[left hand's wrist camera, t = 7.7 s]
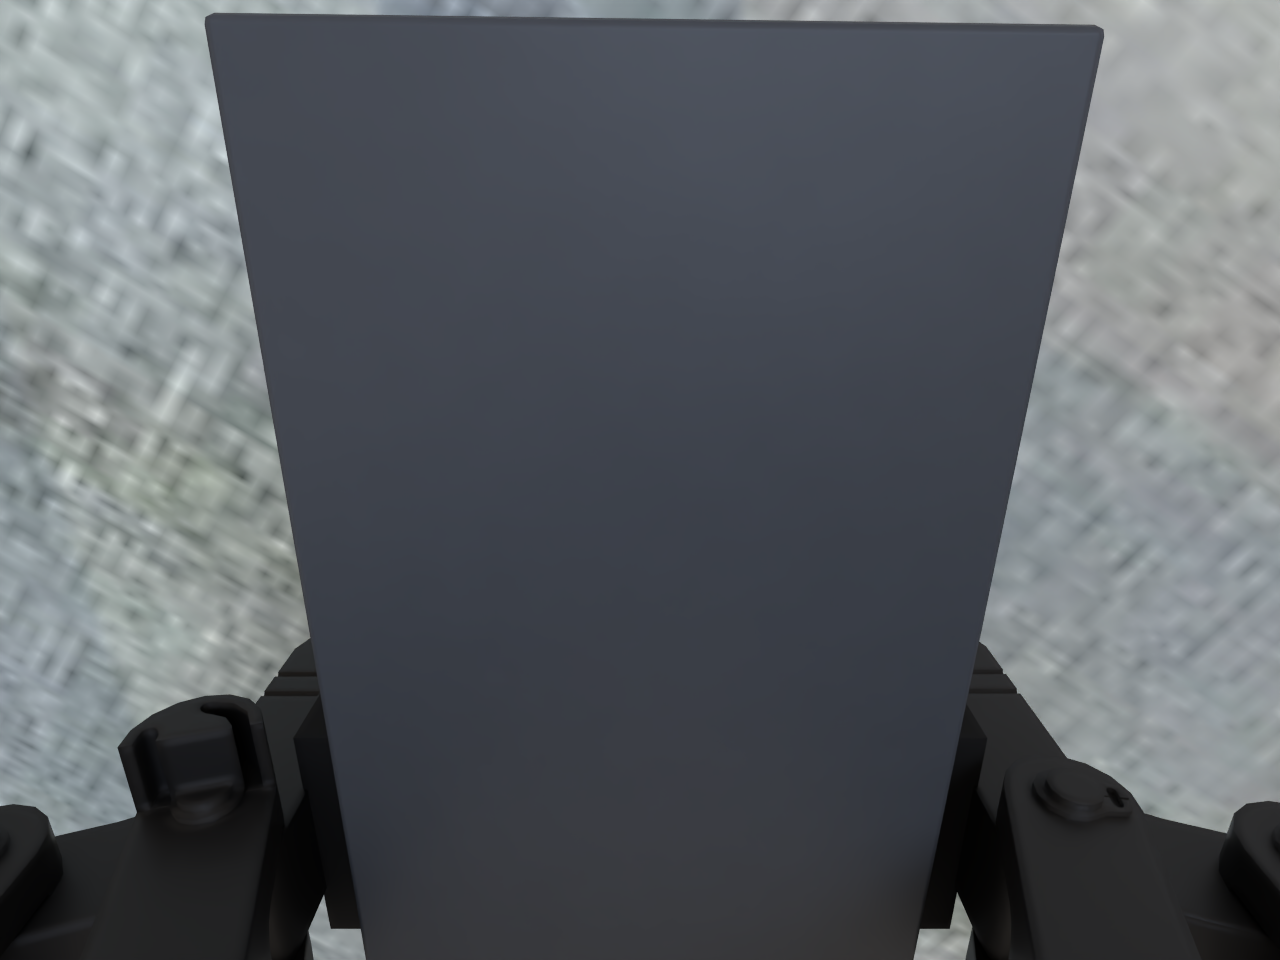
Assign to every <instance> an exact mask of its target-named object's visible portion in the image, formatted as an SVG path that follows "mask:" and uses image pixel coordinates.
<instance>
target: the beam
mask: <svg viewBox="0 0 1280 960" xmlns="http://www.w3.org/2000/svg"><path fill="white" fill-rule="evenodd" d="M205 29H206V35H207V41H208V46H209V52H210V58H211V64H212V69H213V75H214V81H215V87H216V93H217V98H218V104H219V110H220V116H221V122H222V127H223V133H224V139H225V145H226V151H227V156H228V162H229V168H230V174H231V180H232V185H233V191H234V197H235V203H236V208H237V214H238V220H239V226H240V232H241V237H242V243H243V249H244V255H245V261H246V266H247V272H248V278H249V284H250V290H251V295H252V301H253V307H254V313H255V319H256V324H257V330H258V336H259V342H260V347H261V353H262V359H263V365H264V371H265V376H266V382H267V388H268V394H269V400H270V405H271V411H272V417H273V423H274V429H275V434H276V440H277V446H278V452H279V458H280V463H281V469H282V475H283V481H284V486H285V492H286V498H287V504H288V510H289V515H290V521H291V527H292V533H293V539H294V544H295V550H296V556H297V562H298V568H299V573H300V579H301V585H302V591H303V597H304V602H305V608H306V614H307V620H308V625H309V631H310V637H311V643H312V649H313V654H314V660H315V666H316V672H317V678H318V683H319V689H320V695H321V701H322V707H323V712H324V718H325V724H326V730H327V736H328V741H329V747H330V753H331V759H332V764H333V770H334V776H335V782H336V788H337V793H338V799H339V805H340V811H341V817H342V822H343V828H344V834H345V840H346V846H347V851H348V857H349V863H350V869H351V875H352V880H353V886H354V892H355V898H356V903H357V909H358V915H359V921H360V927H361V932H362V938H363V944H364V950H365V956H366V960H913V959H914V954H915V949H916V944H917V939H918V934H919V930H920V925H921V920H922V915H923V910H924V905H925V901H926V896H927V891H928V886H929V881H930V876H931V872H932V867H933V862H934V857H935V852H936V847H937V843H938V838H939V833H940V828H941V823H942V818H943V813H944V809H945V804H946V799H947V794H948V789H949V784H950V780H951V775H952V770H953V765H954V760H955V755H956V751H957V746H958V741H959V736H960V731H961V726H962V722H963V717H964V712H965V707H966V702H967V697H968V693H969V688H970V683H971V678H972V673H973V668H974V663H975V659H976V654H977V649H978V644H979V639H980V634H981V630H982V625H983V620H984V615H985V610H986V605H987V601H988V596H989V591H990V586H991V581H992V576H993V572H994V567H995V562H996V557H997V552H998V547H999V542H1000V538H1001V533H1002V528H1003V523H1004V518H1005V513H1006V509H1007V504H1008V499H1009V494H1010V489H1011V484H1012V480H1013V475H1014V470H1015V465H1016V460H1017V455H1018V451H1019V446H1020V441H1021V436H1022V431H1023V426H1024V421H1025V417H1026V412H1027V407H1028V402H1029V397H1030V392H1031V388H1032V383H1033V378H1034V373H1035V368H1036V363H1037V359H1038V354H1039V349H1040V344H1041V339H1042V334H1043V330H1044V325H1045V320H1046V315H1047V310H1048V305H1049V300H1050V296H1051V291H1052V286H1053V281H1054V276H1055V271H1056V267H1057V262H1058V257H1059V252H1060V247H1061V242H1062V238H1063V233H1064V228H1065V223H1066V218H1067V213H1068V209H1069V204H1070V199H1071V194H1072V189H1073V184H1074V179H1075V175H1076V170H1077V165H1078V160H1079V155H1080V150H1081V146H1082V141H1083V136H1084V131H1085V126H1086V121H1087V117H1088V112H1089V107H1090V102H1091V97H1092V92H1093V88H1094V83H1095V78H1096V73H1097V68H1098V63H1099V59H1100V54H1101V49H1102V44H1103V39H1104V31H1103V29H1102V28H1100V27H1098V26H1096V25H1067V24H993V23H920V22H847V21H774V20H700V19H627V18H554V17H481V16H407V15H334V14H261V13H213V14H211V15H209V16H207V17H206V18H205Z"/></svg>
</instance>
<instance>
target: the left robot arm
mask: <svg viewBox="0 0 1280 960" xmlns="http://www.w3.org/2000/svg"><path fill="white" fill-rule="evenodd" d="M118 751H119V754H120V757H121V761H122V764H123V767H124V771H125V774H126V777H127V781H128V784H129V787H130V791H131V794H132V797H133V801H134V804H135V807H136V811H137V814H136V816H135V817H133V818H130V819H127V820H123V821H120V822H116V823H112V824H108V825H103V826H99V827H94V828H90V829H86V830H81V831H77V832H73V833H68V834H64V835H59V836H54V833H53V830H52V828H51V825H50V822H49V819H48V817H47V816H46V815H45V814H44V813H42V812H41V811H40V810H38V809H37V808H36V807H31V806H24V805H16V804H12V805H5V806H0V960H313V953H312V946H311V941H310V936H309V931H308V930H309V927H310V925H311V923H312V920H313V918H314V916H315V914H316V911H317V909H318V907H319V904H320V902H321V900H322V897H323V895H324V897H325V902H326V907H327V912H328V917H329V922H330V927H331V929H361V927H360V921H359V915H358V909H357V903H356V898H355V892H354V886H353V880H352V875H351V869H350V863H349V857H348V851H347V846H346V840H345V834H344V828H343V822H342V817H341V811H340V805H339V799H338V793H337V788H336V782H335V776H334V770H333V764H332V759H331V753H330V747H329V741H328V736H327V730H326V724H325V718H324V712H323V707H322V701H321V695H320V689H319V683H318V678H317V672H316V666H315V660H314V654H313V649H312V643H311V638H310V639H309V640H307V641H306V642H304V643H303V644H301V645H300V646H299V647H297V648H296V649H295V650H294V651H293V652H292V654H291V655H290V657H289V658H288V659H287V661H286V662H285V664H284V665H283V666H282V668H281V669H280V670H279V672H278V677H274V679H273V680H272V682H271V683H270V684H269V686H268V687H267V689H266V690H265V694H264V696H261V697H260V698H259V700H258V701H257V702H256V704H255V703H254V702H253V701H251V700H250V699H247V698H243V697H239V696H234V695H213V696H203V697H199V698H195V699H191V700H188V701H184V702H180V703H177V704H175V705H173V706H170V707H168V708H166V709H164V710H162V711H159V712H157V713H155V714H153V715H151V716H150V717H149V718H147V719H146V720H144V721H143V722H142V723H140V724H139V725H137V726H136V727H135V728H133V729H132V730H131V731H130V732H129V733H128V735H127V736H126V737H125V739H124V740H123V741H122V742H121V744H120V745H119V746H118ZM957 892H958V895H959V897H960V899H961V902H962V904H963V906H964V908H965V911H966V913H967V915H968V917H969V920H970V922H971V924H972V931H971V936H970V941H969V945H968V950H967V955H966V959H965V960H1280V803H1278V802H1271V801H1265V802H1257V803H1249V804H1246V805H1244V806H1243V807H1242V808H1241V809H1239V810H1238V811H1237V812H1236V813H1234V816H1233V818H1232V821H1231V824H1230V827H1229V830H1228V833H1222V832H1218V831H1214V830H1209V829H1205V828H1200V827H1196V826H1192V825H1187V824H1183V823H1178V822H1174V821H1170V820H1165V819H1162V818H1158V817H1155V816H1152V815H1148V814H1145V813H1144V812H1143V811H1142V809H1141V808H1140V806H1139V805H1138V803H1137V802H1136V800H1135V799H1134V797H1133V796H1132V794H1131V793H1130V792H1129V791H1128V790H1126V789H1125V788H1124V787H1123V786H1122V785H1120V784H1119V783H1118V782H1117V781H1116V780H1114V779H1113V778H1112V777H1111V776H1109V775H1107V774H1105V773H1103V772H1101V771H1099V770H1097V769H1095V768H1093V767H1091V766H1089V765H1087V764H1085V763H1082V762H1078V761H1075V760H1071V759H1068V758H1067V757H1066V756H1065V755H1064V753H1063V752H1062V751H1061V749H1060V748H1059V746H1058V745H1057V744H1056V742H1055V741H1054V740H1053V738H1052V737H1051V735H1050V734H1049V733H1048V731H1047V730H1046V729H1045V727H1044V726H1043V724H1042V723H1041V722H1040V720H1039V719H1038V718H1037V716H1036V715H1035V713H1034V712H1033V711H1032V709H1031V708H1030V706H1029V705H1028V704H1027V702H1026V701H1025V700H1024V698H1023V697H1022V695H1021V694H1017V689H1016V687H1015V686H1014V684H1013V683H1012V682H1011V680H1010V679H1009V678H1008V676H1007V675H1006V674H1003V669H1002V668H1001V667H1000V665H999V664H998V662H997V661H996V660H995V658H994V657H993V656H992V654H991V653H990V651H989V650H988V649H987V647H986V646H984V645H983V644H982V643H980V642H979V644H978V649H977V654H976V659H975V663H974V668H973V673H972V678H971V683H970V688H969V693H968V697H967V702H966V707H965V712H964V717H963V722H962V726H961V731H960V736H959V741H958V746H957V751H956V755H955V760H954V765H953V770H952V775H951V780H950V784H949V789H948V794H947V799H946V804H945V809H944V813H943V818H942V823H941V828H940V833H939V838H938V843H937V847H936V852H935V857H934V862H933V867H932V872H931V876H930V881H929V886H928V891H927V896H926V901H925V905H924V910H923V915H922V920H921V925H920V929H950V925H951V920H952V914H953V909H954V904H955V899H956V894H957Z"/></svg>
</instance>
